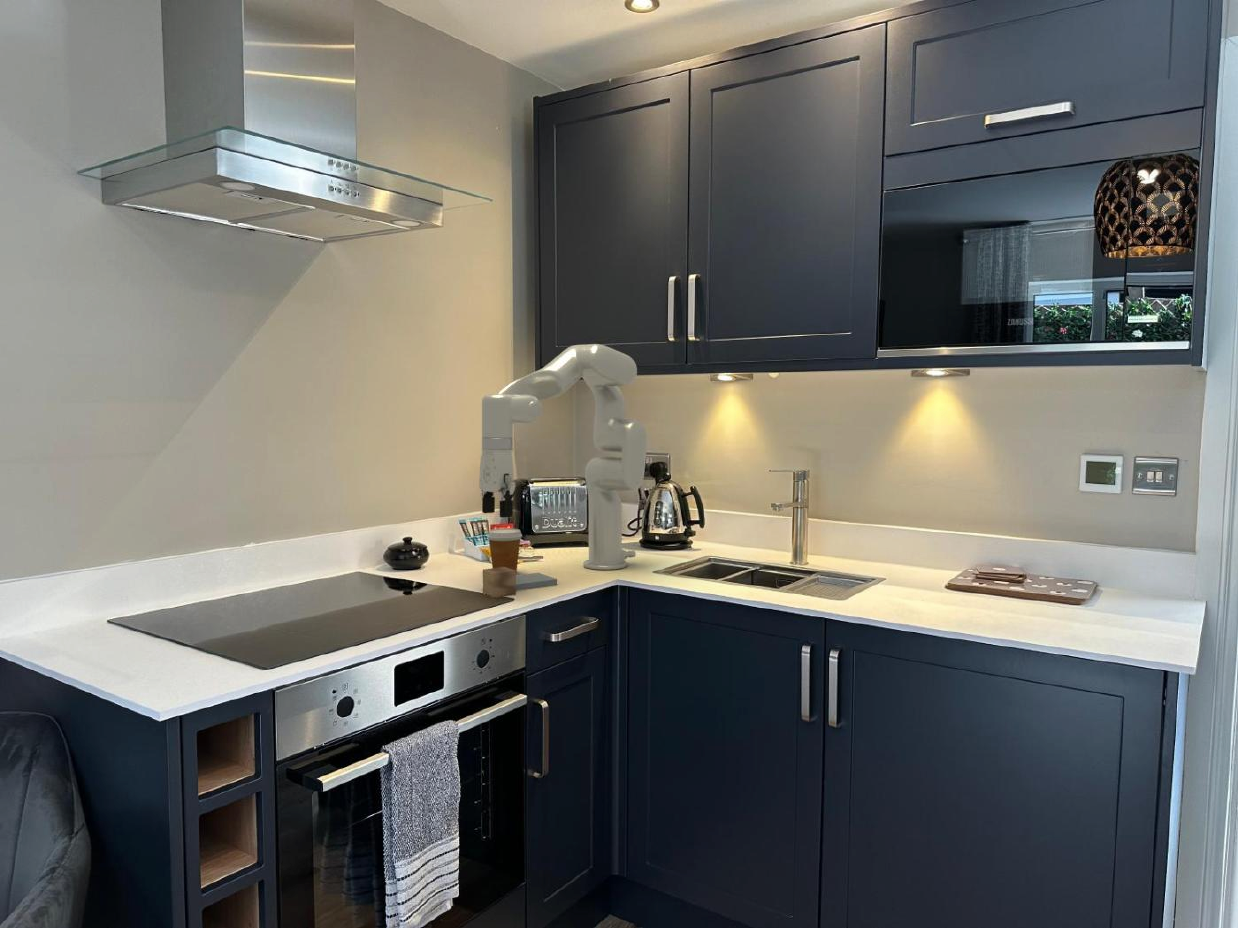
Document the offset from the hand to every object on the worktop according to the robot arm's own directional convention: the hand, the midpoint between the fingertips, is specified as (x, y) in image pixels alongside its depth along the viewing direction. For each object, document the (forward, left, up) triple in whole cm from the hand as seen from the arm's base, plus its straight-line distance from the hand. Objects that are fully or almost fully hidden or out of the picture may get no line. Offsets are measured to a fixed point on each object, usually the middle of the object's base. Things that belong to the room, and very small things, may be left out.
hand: (497, 514), depth 205 cm
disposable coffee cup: (-12, -20, -20) cm, 30 cm away
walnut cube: (0, +1, -20) cm, 20 cm away
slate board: (-11, -5, -19) cm, 23 cm away
